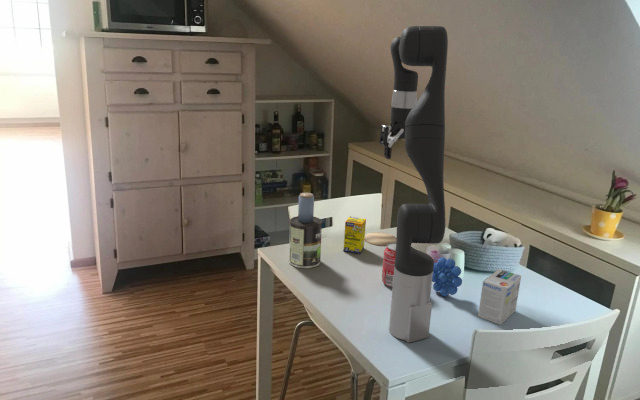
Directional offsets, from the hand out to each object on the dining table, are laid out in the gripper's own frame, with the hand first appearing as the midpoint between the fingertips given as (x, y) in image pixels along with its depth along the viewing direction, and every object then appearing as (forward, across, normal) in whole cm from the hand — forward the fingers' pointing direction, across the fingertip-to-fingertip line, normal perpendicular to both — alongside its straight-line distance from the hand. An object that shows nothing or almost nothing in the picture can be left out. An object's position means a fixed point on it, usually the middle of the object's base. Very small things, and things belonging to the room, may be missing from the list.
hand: (399, 157), depth 167 cm
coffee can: (+34, -28, +8) cm, 45 cm away
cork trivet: (+34, +6, +16) cm, 38 cm away
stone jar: (+20, -28, +8) cm, 35 cm away
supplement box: (+34, -8, +11) cm, 37 cm away
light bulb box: (+34, +6, -42) cm, 55 cm away
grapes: (+34, 0, -28) cm, 44 cm away
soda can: (+34, -10, -16) cm, 39 cm away
